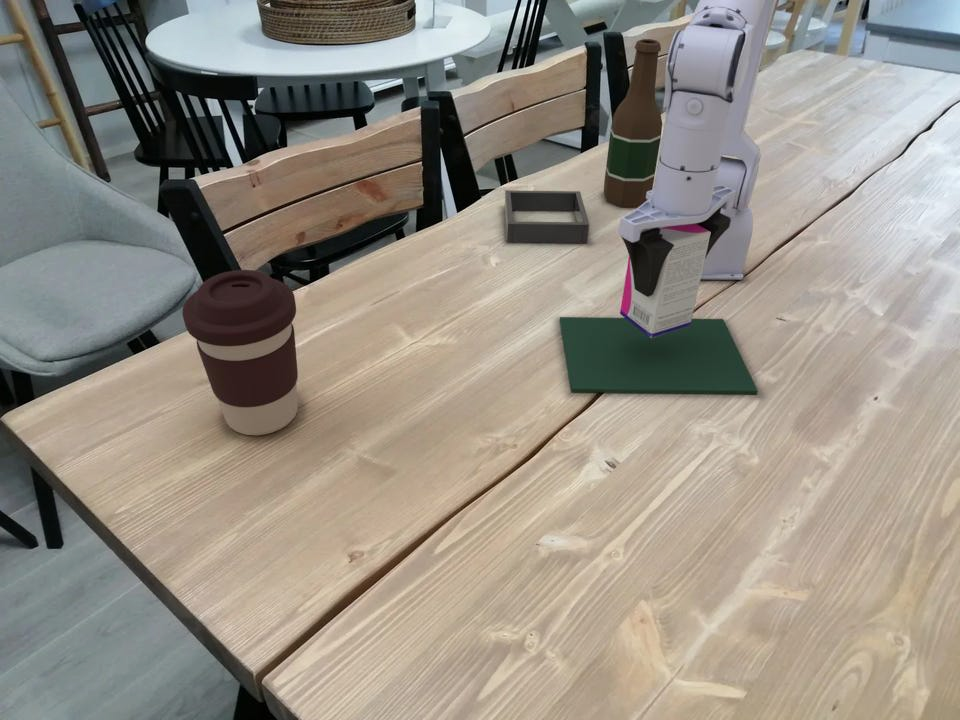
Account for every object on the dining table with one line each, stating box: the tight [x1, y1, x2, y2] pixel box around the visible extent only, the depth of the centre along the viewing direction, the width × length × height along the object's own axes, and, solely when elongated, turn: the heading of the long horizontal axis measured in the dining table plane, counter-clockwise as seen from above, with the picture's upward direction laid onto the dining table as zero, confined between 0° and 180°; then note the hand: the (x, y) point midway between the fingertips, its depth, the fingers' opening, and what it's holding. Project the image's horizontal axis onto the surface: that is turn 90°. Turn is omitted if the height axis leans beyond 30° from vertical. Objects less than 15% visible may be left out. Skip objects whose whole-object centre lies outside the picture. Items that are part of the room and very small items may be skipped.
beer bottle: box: [603, 38, 663, 208], centre depth 112 cm, size 8×8×24 cm
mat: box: [559, 316, 759, 395], centre depth 85 cm, size 20×14×1 cm
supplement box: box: [619, 223, 711, 338], centre depth 79 cm, size 6×6×12 cm
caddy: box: [504, 189, 590, 244], centre depth 110 cm, size 12×12×3 cm
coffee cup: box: [181, 269, 299, 436], centre depth 71 cm, size 10×10×15 cm
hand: (665, 283), depth 79 cm, fingers closed on supplement box, 6 cm apart
